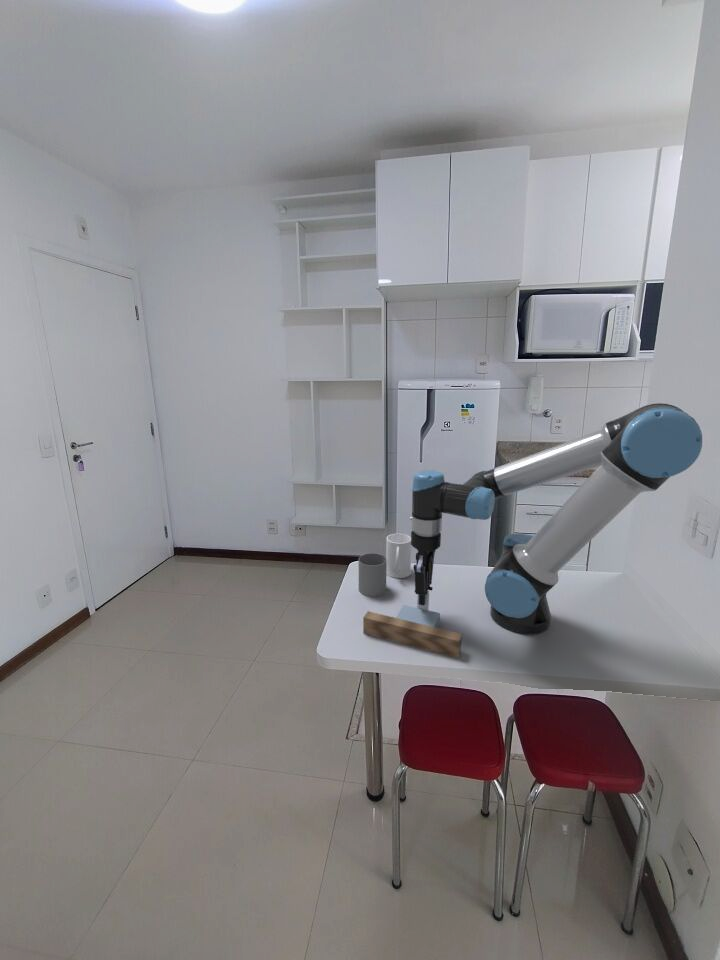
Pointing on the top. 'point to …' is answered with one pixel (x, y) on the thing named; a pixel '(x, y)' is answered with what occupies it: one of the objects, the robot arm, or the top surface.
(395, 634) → the brown wooden bar
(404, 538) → the mug
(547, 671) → the top surface
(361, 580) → the cup
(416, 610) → the block
